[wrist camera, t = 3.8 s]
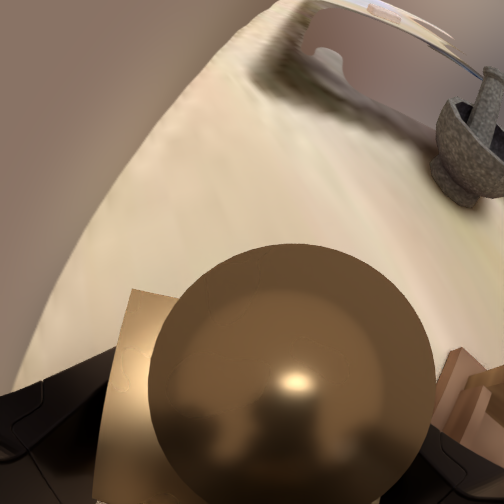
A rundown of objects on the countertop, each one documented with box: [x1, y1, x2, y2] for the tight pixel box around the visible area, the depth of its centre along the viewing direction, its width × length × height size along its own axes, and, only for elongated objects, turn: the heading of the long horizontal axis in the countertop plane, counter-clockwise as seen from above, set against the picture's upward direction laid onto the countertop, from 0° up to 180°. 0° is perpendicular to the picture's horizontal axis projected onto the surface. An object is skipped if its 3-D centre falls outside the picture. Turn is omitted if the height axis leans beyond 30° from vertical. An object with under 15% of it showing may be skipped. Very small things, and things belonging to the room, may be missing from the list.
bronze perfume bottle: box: [92, 244, 436, 504], centre depth 8 cm, size 4×6×12 cm
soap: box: [367, 4, 401, 24], centre depth 58 cm, size 9×6×3 cm, turn 92°
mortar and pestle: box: [430, 66, 504, 208], centre depth 19 cm, size 11×9×12 cm
